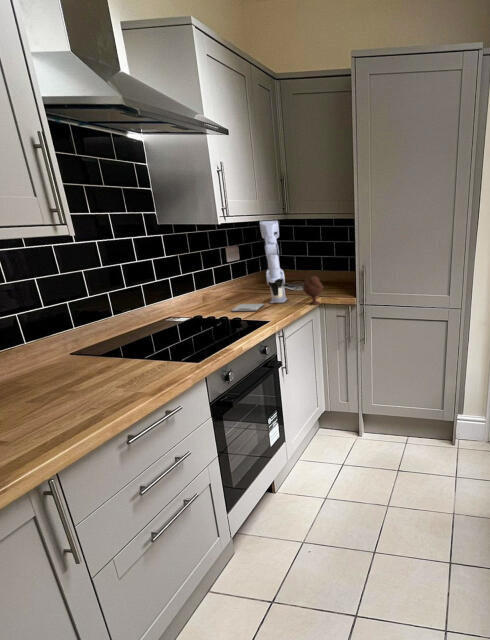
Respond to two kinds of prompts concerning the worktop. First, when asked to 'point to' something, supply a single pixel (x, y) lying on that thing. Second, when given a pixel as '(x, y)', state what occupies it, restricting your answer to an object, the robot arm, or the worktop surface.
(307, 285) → the brown tree model
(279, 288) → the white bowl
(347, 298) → the worktop surface
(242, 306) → the scale
